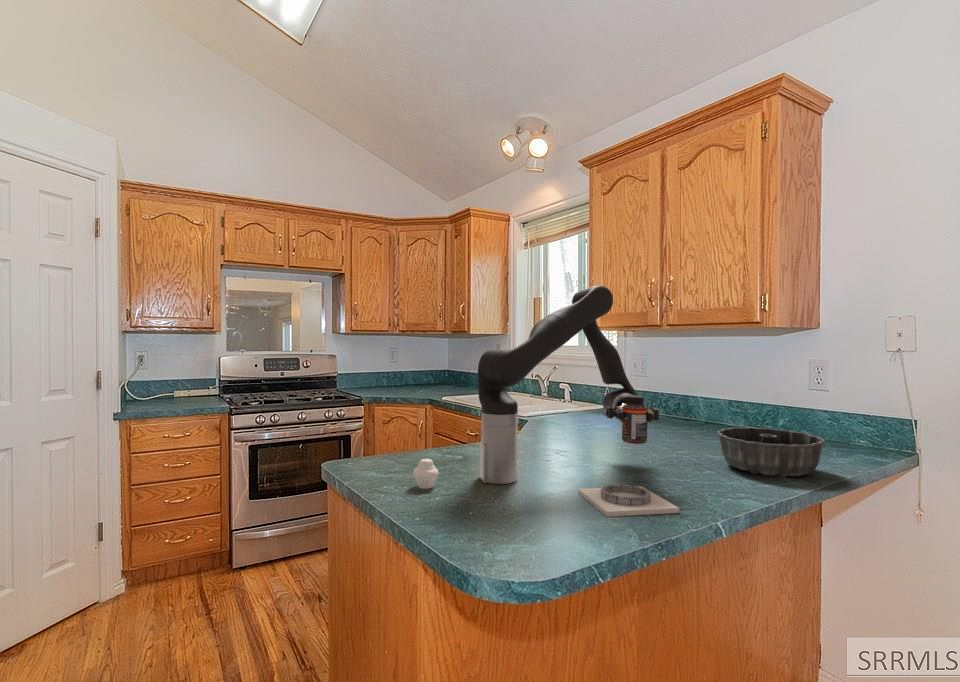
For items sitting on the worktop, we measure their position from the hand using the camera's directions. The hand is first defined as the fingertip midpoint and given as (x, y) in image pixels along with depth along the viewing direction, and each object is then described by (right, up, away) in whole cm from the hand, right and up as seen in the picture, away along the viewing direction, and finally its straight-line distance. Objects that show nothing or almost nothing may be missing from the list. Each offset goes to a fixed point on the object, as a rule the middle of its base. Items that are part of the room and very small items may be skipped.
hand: (636, 416), depth 121 cm
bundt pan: (+44, -19, +21) cm, 52 cm away
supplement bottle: (0, -7, +2) cm, 7 cm away
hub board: (-5, -18, -9) cm, 21 cm away
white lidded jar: (-51, -17, +1) cm, 54 cm away
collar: (-5, -18, -9) cm, 21 cm away
